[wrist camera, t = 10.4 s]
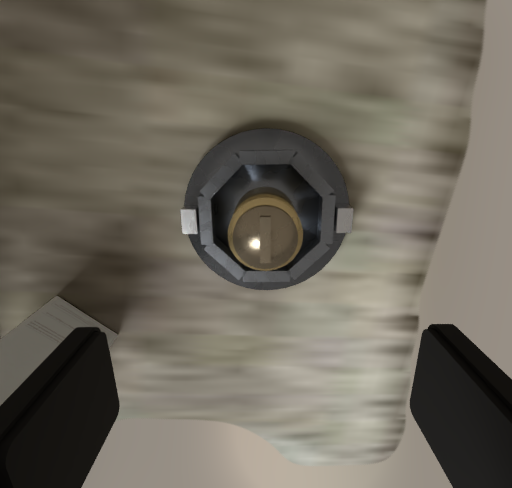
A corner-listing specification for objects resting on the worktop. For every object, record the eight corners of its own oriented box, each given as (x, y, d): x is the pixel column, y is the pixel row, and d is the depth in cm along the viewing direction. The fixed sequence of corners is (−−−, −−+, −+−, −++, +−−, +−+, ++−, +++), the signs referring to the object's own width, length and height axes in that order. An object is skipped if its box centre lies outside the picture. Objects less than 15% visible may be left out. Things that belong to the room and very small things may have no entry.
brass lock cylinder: (233, 186, 26) (224, 201, 20) (296, 186, 26) (306, 201, 20) (235, 246, 28) (227, 276, 22) (294, 246, 28) (303, 276, 22)
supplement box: (23, 341, 33) (-116, 459, 21) (57, 292, 31) (-73, 392, 19) (85, 378, 34) (-11, 509, 22) (121, 335, 32) (38, 452, 20)
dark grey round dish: (193, 285, 30) (186, 299, 27) (179, 129, 26) (170, 129, 23) (340, 284, 30) (347, 299, 27) (352, 127, 25) (363, 126, 23)
